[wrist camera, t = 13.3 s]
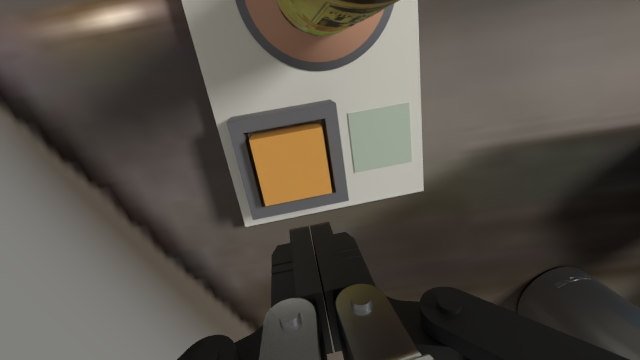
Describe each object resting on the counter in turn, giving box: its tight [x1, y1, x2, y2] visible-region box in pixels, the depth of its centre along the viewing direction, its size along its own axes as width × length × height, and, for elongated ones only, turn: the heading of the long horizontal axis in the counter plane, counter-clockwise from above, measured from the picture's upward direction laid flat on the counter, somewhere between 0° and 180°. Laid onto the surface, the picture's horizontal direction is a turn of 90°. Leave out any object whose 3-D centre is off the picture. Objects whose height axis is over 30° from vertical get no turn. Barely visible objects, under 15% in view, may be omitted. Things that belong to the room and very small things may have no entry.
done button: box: [249, 122, 332, 206], centre depth 23 cm, size 5×5×2 cm
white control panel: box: [181, 0, 424, 227], centre depth 22 cm, size 24×16×4 cm, turn 9°
